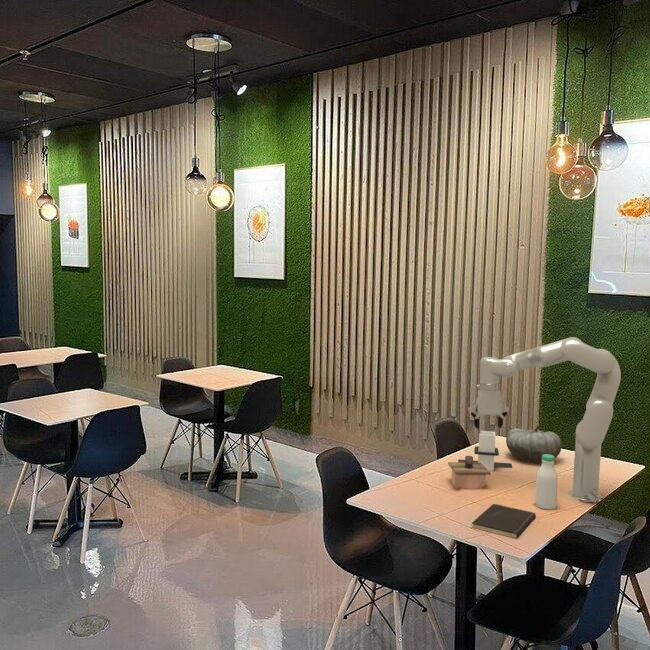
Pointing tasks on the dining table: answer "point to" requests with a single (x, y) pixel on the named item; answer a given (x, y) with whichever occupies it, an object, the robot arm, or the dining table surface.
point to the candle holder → (488, 452)
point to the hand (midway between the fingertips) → (488, 427)
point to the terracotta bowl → (468, 481)
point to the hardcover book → (504, 520)
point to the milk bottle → (546, 484)
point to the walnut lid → (468, 467)
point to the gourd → (533, 444)
